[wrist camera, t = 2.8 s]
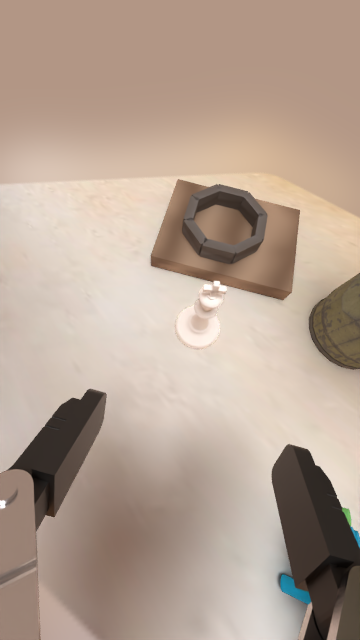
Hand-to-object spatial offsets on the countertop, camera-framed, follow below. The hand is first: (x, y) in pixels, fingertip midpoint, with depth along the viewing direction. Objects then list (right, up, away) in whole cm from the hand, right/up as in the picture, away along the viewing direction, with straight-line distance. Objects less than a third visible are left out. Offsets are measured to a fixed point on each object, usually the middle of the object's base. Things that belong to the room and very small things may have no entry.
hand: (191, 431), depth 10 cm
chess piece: (+1, +4, +16) cm, 17 cm away
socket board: (+5, +15, +20) cm, 25 cm away
